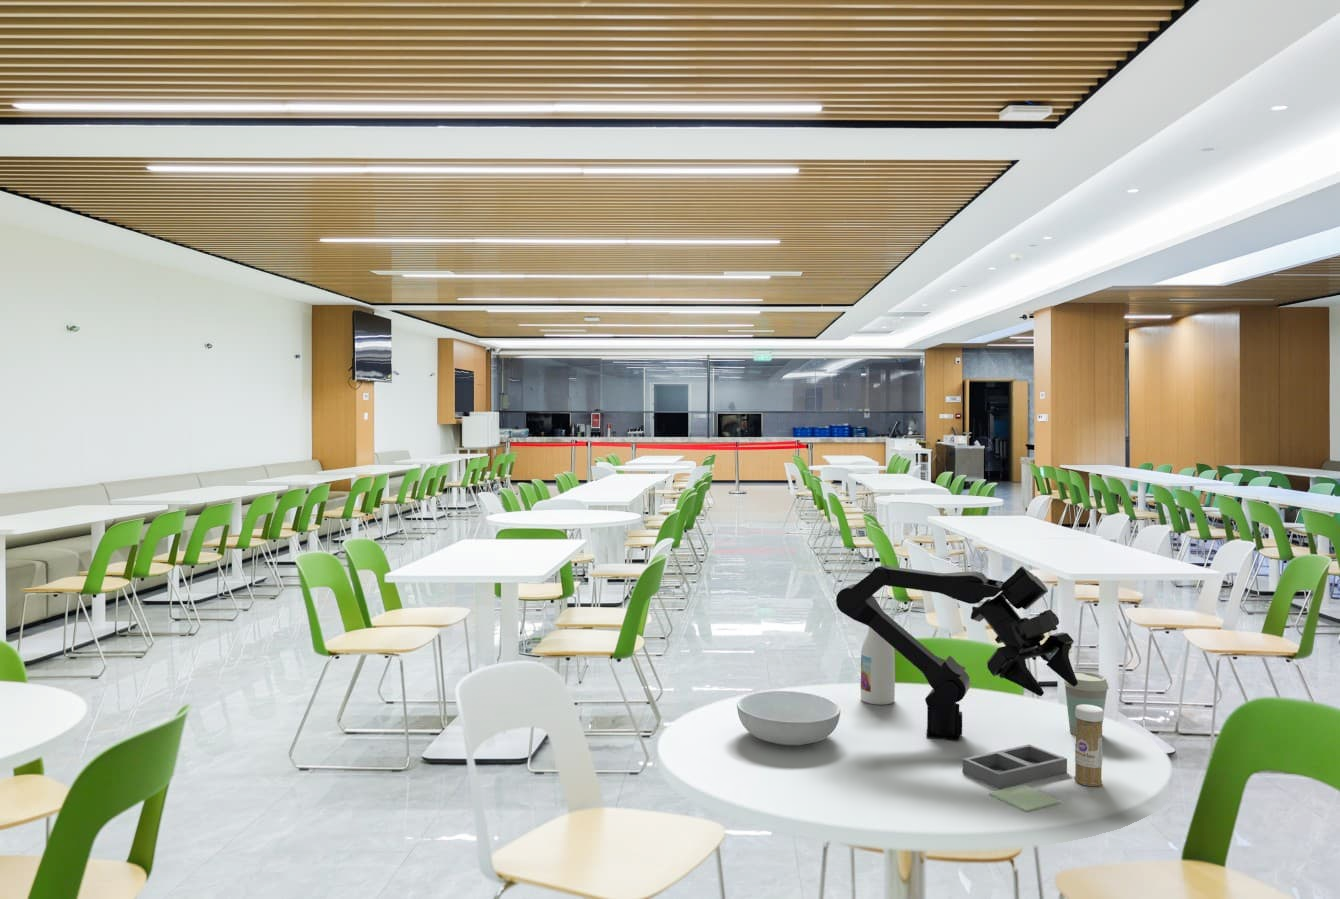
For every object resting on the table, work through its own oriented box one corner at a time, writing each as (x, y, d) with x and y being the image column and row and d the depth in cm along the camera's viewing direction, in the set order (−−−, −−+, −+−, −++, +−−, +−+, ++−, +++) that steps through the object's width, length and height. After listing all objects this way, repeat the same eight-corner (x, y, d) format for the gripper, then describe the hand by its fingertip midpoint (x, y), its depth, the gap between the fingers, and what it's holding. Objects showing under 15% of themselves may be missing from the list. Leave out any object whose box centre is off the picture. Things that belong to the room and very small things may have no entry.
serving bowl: (793, 765, 170) (793, 728, 170) (715, 736, 185) (715, 703, 185) (861, 740, 183) (861, 706, 183) (783, 715, 199) (783, 684, 199)
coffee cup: (1113, 742, 182) (1113, 682, 182) (1068, 739, 184) (1068, 680, 184) (1101, 728, 191) (1102, 671, 191) (1058, 725, 193) (1059, 669, 192)
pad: (1022, 786, 160) (1022, 784, 160) (1060, 802, 152) (1060, 801, 152) (989, 794, 156) (989, 792, 156) (1026, 811, 149) (1026, 810, 149)
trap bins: (1029, 757, 174) (1029, 744, 174) (1066, 772, 166) (1067, 758, 166) (962, 772, 166) (962, 758, 166) (998, 788, 158) (999, 774, 158)
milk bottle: (896, 697, 213) (896, 612, 212) (892, 707, 205) (893, 619, 205) (862, 694, 215) (863, 610, 215) (858, 703, 208) (859, 616, 208)
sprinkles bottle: (1071, 782, 161) (1072, 707, 161) (1078, 775, 165) (1079, 701, 164) (1098, 789, 158) (1099, 713, 158) (1105, 781, 162) (1106, 706, 161)
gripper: (992, 605, 170) (1046, 673, 160) (1060, 591, 179) (1116, 655, 169) (965, 642, 177) (1016, 709, 167) (1032, 626, 186) (1084, 689, 176)
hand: (1059, 690), depth 169 cm, fingers open, 9 cm apart
